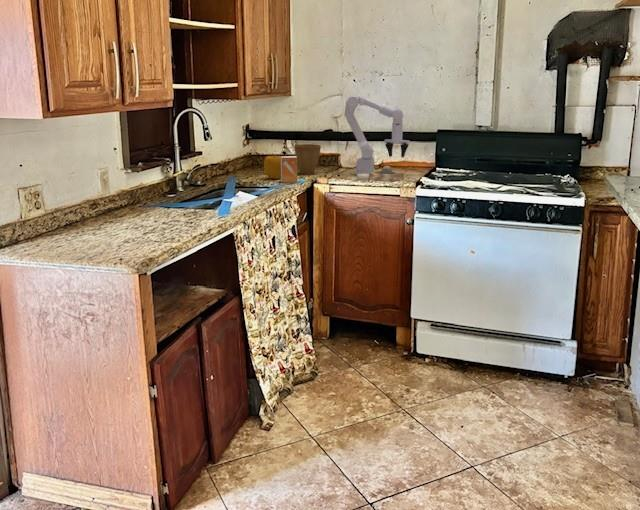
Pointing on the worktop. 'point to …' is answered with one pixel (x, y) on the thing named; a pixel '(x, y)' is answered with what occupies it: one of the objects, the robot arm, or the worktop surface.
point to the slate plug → (387, 170)
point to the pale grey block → (362, 176)
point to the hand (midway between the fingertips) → (396, 156)
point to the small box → (289, 169)
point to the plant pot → (307, 157)
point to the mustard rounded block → (273, 166)
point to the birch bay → (386, 176)
